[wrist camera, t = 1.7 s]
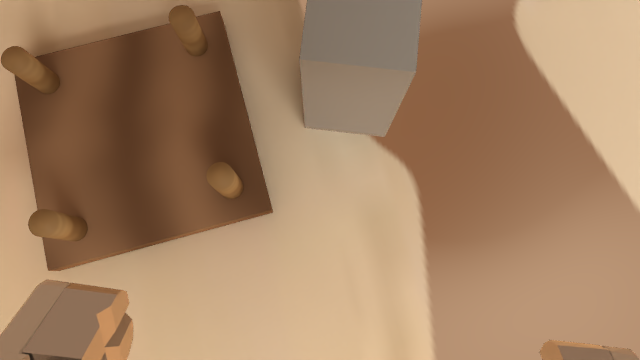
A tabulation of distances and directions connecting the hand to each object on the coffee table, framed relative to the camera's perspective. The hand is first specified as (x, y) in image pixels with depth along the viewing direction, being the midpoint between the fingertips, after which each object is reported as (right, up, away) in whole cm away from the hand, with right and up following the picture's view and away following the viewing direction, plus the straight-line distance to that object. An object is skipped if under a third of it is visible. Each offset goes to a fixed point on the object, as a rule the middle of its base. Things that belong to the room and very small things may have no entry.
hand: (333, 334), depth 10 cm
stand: (-11, +6, +21) cm, 24 cm away
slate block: (+2, +8, +22) cm, 23 cm away
